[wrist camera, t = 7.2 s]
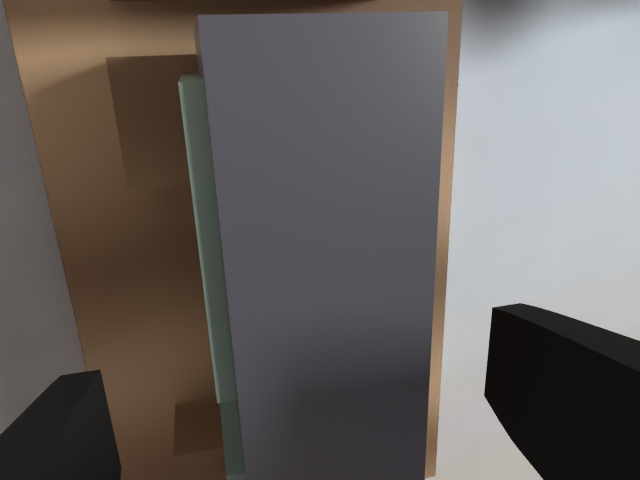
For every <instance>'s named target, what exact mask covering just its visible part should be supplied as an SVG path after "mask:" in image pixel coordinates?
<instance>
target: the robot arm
mask: <svg viewBox="0 0 640 480" xmlns="http://www.w3.org/2000/svg"><path fill="white" fill-rule="evenodd" d="M484 396H485V398H486V399H487V401H488V403H489V404H490V406H491V408H492V409H493V411H494V413H495V414H496V416H497V418H498V419H499V421H500V423H501V424H502V426H503V427H504V429H505V430H506V432H507V433H508V435H509V437H510V438H511V440H512V441H513V442H514V444H515V445H516V446H517V447H518V449H519V450H520V451H521V452H522V454H523V455H524V456H525V457H526V459H527V460H528V461H529V462H530V464H531V465H532V466H533V467H534V468H535V470H536V471H537V472H538V473H539V475H540V476H541V477H542V478H543V480H640V341H638V340H635V339H632V338H629V337H626V336H623V335H620V334H617V333H614V332H612V331H609V330H606V329H603V328H600V327H597V326H594V325H591V324H588V323H585V322H582V321H579V320H576V319H573V318H570V317H567V316H564V315H561V314H558V313H555V312H552V311H548V310H545V309H542V308H538V307H534V306H530V305H526V304H521V303H519V304H513V305H507V306H500V307H494V308H492V318H491V329H490V340H489V350H488V361H487V372H486V382H485V393H484ZM0 480H121V463H120V458H119V454H118V449H117V444H116V440H115V435H114V430H113V426H112V421H111V417H110V412H109V407H108V403H107V398H106V393H105V389H104V384H103V379H102V375H101V370H93V371H87V372H81V373H74V374H68V375H62V376H60V377H59V378H58V379H56V380H55V381H54V382H53V383H52V384H51V385H50V386H49V387H48V388H47V389H46V390H45V391H44V392H43V393H42V394H41V395H40V396H39V397H38V398H37V399H36V400H35V401H34V402H33V403H32V404H31V405H30V406H29V407H28V408H27V409H26V410H25V411H24V412H23V413H22V414H21V415H20V416H19V417H18V418H17V419H16V420H15V421H14V422H13V423H12V424H11V425H10V426H9V427H8V428H7V429H6V430H5V431H4V432H3V433H2V434H1V435H0Z"/></svg>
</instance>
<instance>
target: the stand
mask: <svg viewBox="0 0 640 480" xmlns="http://www.w3.org/2000/svg"><path fill="white" fill-rule="evenodd" d="M3 3H4V7H5V11H6V16H7V20H8V25H9V29H10V33H11V38H12V42H13V47H14V51H15V56H16V60H17V64H18V69H19V73H20V78H21V82H22V86H23V91H24V95H25V100H26V104H27V109H28V113H29V117H30V122H31V126H32V131H33V135H34V139H35V144H36V148H37V153H38V157H39V161H40V166H41V170H42V175H43V179H44V184H45V188H46V192H47V197H48V201H49V206H50V210H51V214H52V219H53V223H54V228H55V232H56V237H57V241H58V245H59V250H60V254H61V259H62V263H63V267H64V272H65V276H66V281H67V285H68V289H69V294H70V298H71V303H72V307H73V312H74V316H75V320H76V325H77V329H78V334H79V338H80V342H81V347H82V351H83V356H84V360H85V365H86V369H87V371H93V370H101V375H102V379H103V384H104V389H105V393H106V398H107V403H108V407H109V412H110V417H111V421H112V426H113V430H114V435H115V440H116V444H117V449H118V454H119V458H120V463H121V480H227V478H226V468H225V457H224V446H223V435H222V424H221V413H220V403H217V396H216V388H215V380H214V372H213V363H212V355H211V347H210V339H209V331H208V322H207V314H206V306H205V298H204V290H203V282H202V273H201V265H200V257H199V249H198V241H197V232H196V224H195V216H194V208H193V200H192V191H191V183H190V175H189V167H188V159H187V151H186V142H185V134H184V126H183V118H182V110H181V101H180V93H179V85H178V81H179V79H180V77H181V75H193V74H198V65H197V56H196V47H195V37H194V30H195V26H196V21H197V16H198V15H231V14H298V13H365V12H432V11H449V13H448V33H447V52H446V72H445V91H444V111H443V130H442V150H441V169H440V189H439V208H438V228H437V247H436V266H435V286H434V305H433V325H432V344H431V364H430V383H429V403H428V422H427V442H426V461H425V478H429V477H433V476H435V471H436V454H437V436H438V419H439V402H440V384H441V367H442V350H443V333H444V315H445V298H446V281H447V263H448V246H449V229H450V211H451V194H452V177H453V159H454V142H455V125H456V107H457V90H458V73H459V56H460V38H461V21H462V4H463V0H3Z"/></svg>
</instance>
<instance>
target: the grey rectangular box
mask: <svg viewBox="0 0 640 480" xmlns="http://www.w3.org/2000/svg"><path fill="white" fill-rule="evenodd" d="M448 13H449V11H432V12H365V13H298V14H231V15H198V16H197V21H196V26H195V30H194V37H195V47H196V56H197V65H198V74H193V75H181V77H180V79H179V81H178V85H179V93H180V101H181V110H182V118H183V126H184V134H185V142H186V151H187V159H188V167H189V175H190V183H191V191H192V200H193V208H194V216H195V224H196V232H197V241H198V249H199V257H200V265H201V273H202V282H203V290H204V298H205V306H206V314H207V322H208V331H209V339H210V347H211V355H212V363H213V372H214V380H215V388H216V396H217V403H220V413H221V424H222V435H223V446H224V457H225V468H226V478H227V480H425V461H426V442H427V422H428V403H429V383H430V364H431V344H432V325H433V305H434V286H435V266H436V247H437V228H438V208H439V189H440V169H441V150H442V130H443V111H444V91H445V72H446V52H447V33H448Z"/></svg>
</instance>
